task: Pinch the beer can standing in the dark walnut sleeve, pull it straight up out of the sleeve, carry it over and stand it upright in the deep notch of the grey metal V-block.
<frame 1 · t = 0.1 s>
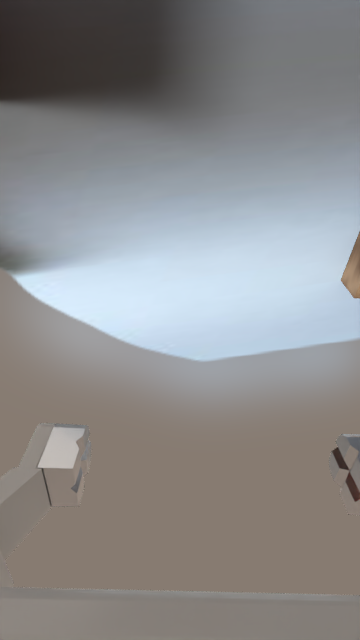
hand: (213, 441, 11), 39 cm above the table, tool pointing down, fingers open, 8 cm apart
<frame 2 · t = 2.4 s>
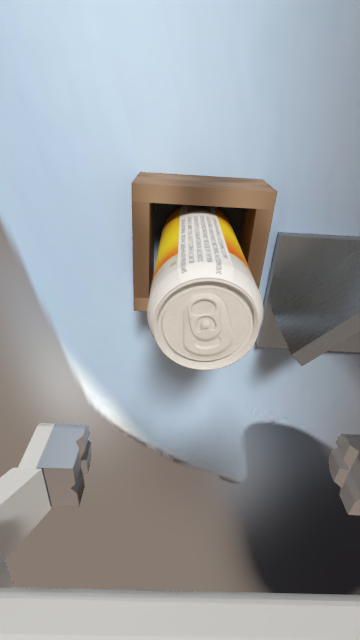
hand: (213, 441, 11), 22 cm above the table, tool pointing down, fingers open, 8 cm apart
beer can: (196, 235, 30), resting in walnut sleeve
V-block: (343, 314, 34), on the table
walnut sleeve: (196, 236, 30), on the table
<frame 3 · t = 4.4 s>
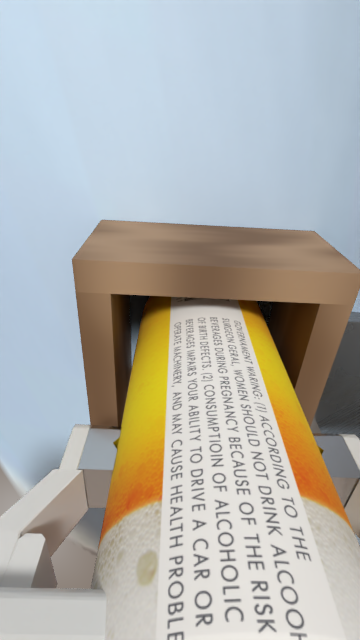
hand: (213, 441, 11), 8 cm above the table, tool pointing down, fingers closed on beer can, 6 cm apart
beer can: (199, 315, 18), resting in walnut sleeve, touching gripper
walnut sleeve: (200, 317, 18), on the table
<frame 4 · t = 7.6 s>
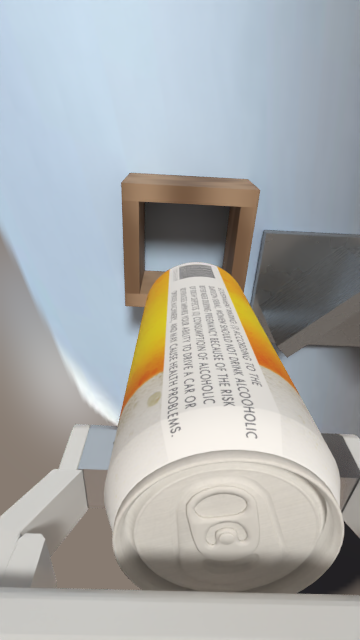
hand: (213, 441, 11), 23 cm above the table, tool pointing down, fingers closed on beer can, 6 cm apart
beer can: (194, 305, 22), point 11 cm above the table, touching gripper
V-block: (328, 309, 35), on the table
walnut sleeve: (185, 234, 31), on the table
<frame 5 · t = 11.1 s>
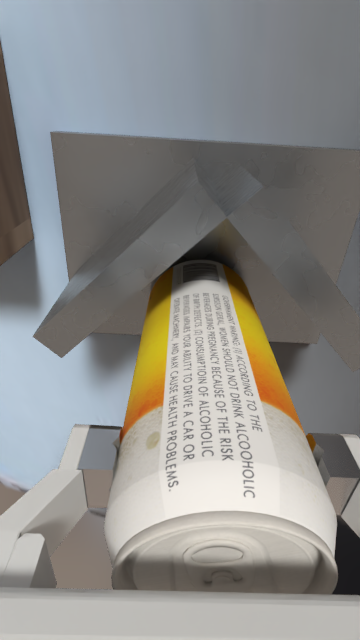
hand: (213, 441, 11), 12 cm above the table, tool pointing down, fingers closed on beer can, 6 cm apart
beer can: (198, 300, 21), point 1 cm above the table, touching V-block, gripper
V-block: (201, 279, 21), on the table
when the fingers open (10 cm above the table, at t = 12.9 s): beer can stays where it is, resting on V-block.
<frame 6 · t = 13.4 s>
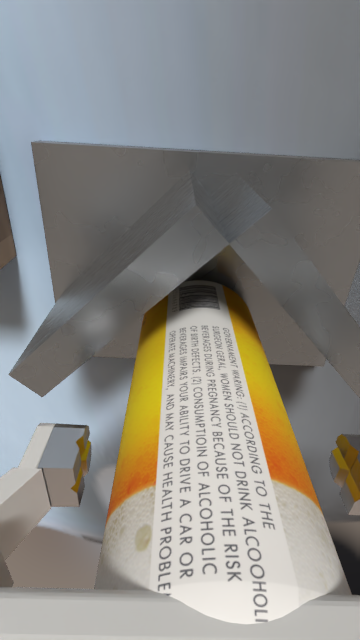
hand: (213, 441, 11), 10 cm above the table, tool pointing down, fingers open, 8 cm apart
beer can: (196, 321, 20), point 1 cm above the table, touching V-block
V-block: (199, 299, 20), on the table
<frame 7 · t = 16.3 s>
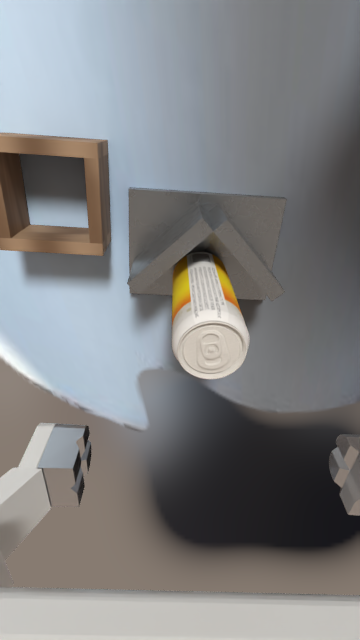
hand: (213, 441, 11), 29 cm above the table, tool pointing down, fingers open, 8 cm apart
beer can: (199, 274, 39), point 1 cm above the table, touching V-block
V-block: (200, 263, 39), on the table
walnut sleeve: (61, 190, 35), on the table
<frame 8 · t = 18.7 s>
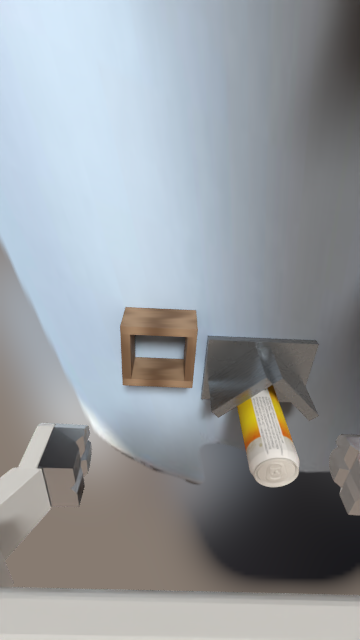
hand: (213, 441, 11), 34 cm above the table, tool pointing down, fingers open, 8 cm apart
beer can: (253, 387, 54), point 1 cm above the table, touching V-block
V-block: (253, 378, 54), on the table
walnut sleeve: (160, 338, 50), on the table
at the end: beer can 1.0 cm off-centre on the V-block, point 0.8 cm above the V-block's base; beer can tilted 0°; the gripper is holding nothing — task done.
